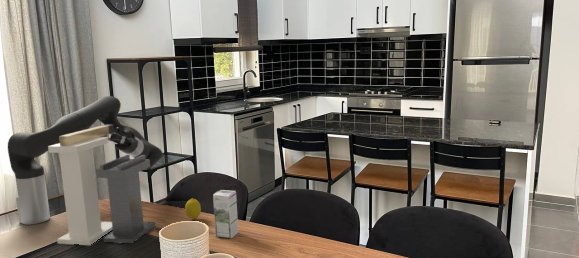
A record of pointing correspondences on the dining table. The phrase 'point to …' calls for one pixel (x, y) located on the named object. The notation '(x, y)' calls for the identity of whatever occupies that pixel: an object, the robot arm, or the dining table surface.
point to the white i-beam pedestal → (81, 192)
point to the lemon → (193, 208)
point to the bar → (85, 135)
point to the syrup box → (225, 213)
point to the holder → (125, 198)
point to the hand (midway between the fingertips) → (106, 130)
